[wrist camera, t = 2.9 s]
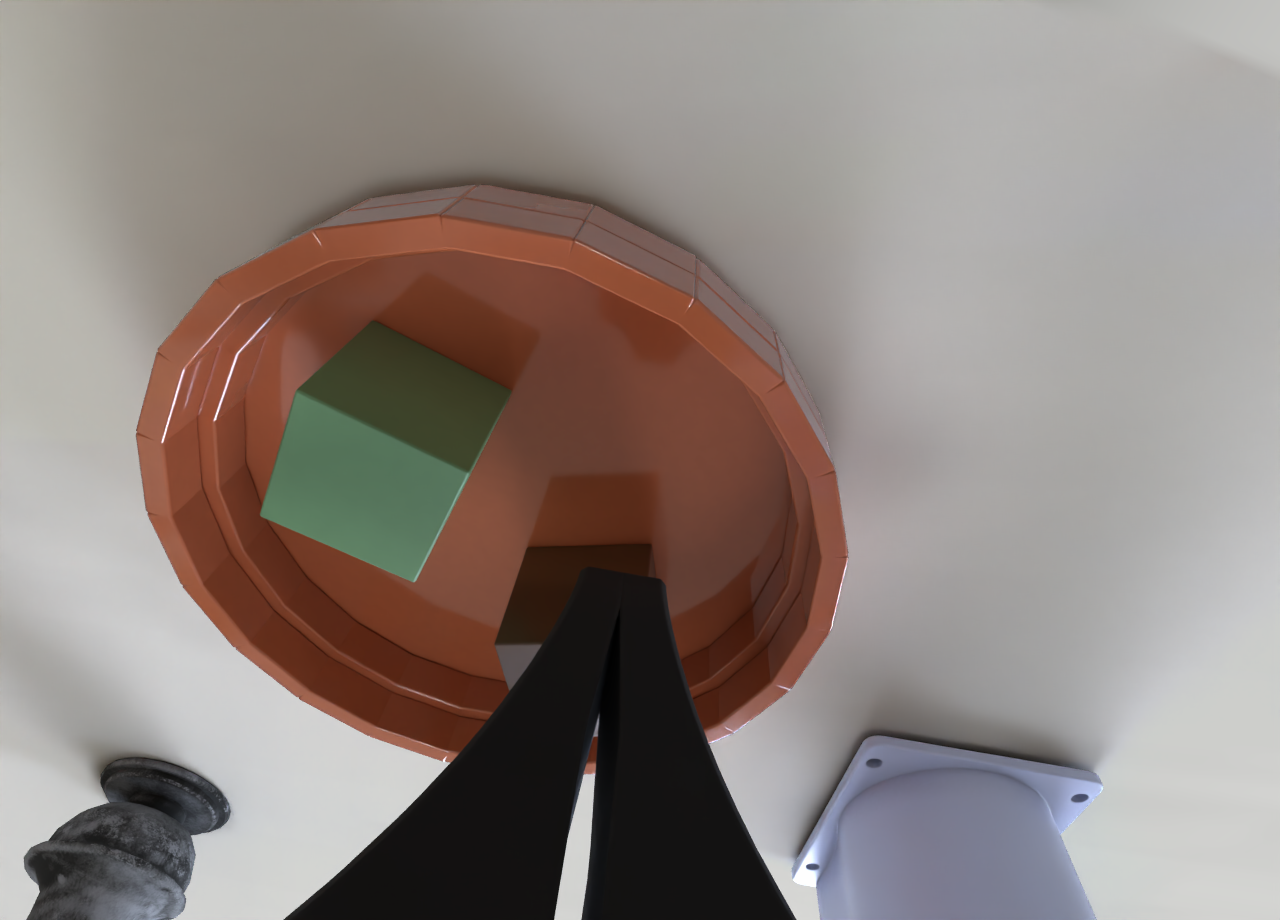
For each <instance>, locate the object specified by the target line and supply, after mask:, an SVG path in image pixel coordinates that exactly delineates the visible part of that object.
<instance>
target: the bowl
mask: <svg viewBox="0 0 1280 920" xmlns="http://www.w3.org/2000/svg"><path fill="white" fill-rule="evenodd" d="M372 320H374V321H376V322H378V323H380V324H382V325H384V326H386V327H388V328H390V329H392V330H394V331H396V332H398V333H400V334H402V335H404V336H406V337H408V338H410V339H411V340H413V341H415V342H417V343H419V344H421V345H423V346H425V347H427V348H429V349H431V350H433V351H435V352H437V353H439V354H441V355H443V356H445V357H447V358H449V359H451V360H453V361H455V362H457V363H459V364H461V365H463V366H465V367H466V368H468V369H470V370H472V371H474V372H476V373H478V374H480V375H482V376H484V377H486V378H488V379H490V380H492V381H494V382H496V383H498V384H500V385H502V386H504V387H506V388H508V389H510V390H511V391H512V393H511V395H510V397H509V399H508V401H507V403H506V405H505V407H504V409H503V411H502V413H501V415H500V417H499V419H498V421H497V423H496V425H495V427H494V429H493V431H492V433H491V435H490V437H489V439H488V441H487V443H486V445H485V447H484V449H483V451H482V453H481V455H480V457H479V459H478V461H477V463H476V465H475V467H474V469H473V470H472V472H471V474H470V476H469V478H468V480H467V482H466V484H465V486H464V488H463V490H462V492H461V494H460V496H459V498H458V500H457V502H456V504H455V506H454V508H453V510H452V512H451V514H450V516H449V518H448V520H447V521H446V523H445V525H444V527H443V529H442V531H441V533H440V535H439V537H438V539H437V541H436V543H435V545H434V547H433V549H432V551H431V553H430V555H429V557H428V559H427V560H426V562H425V564H424V566H423V568H422V570H421V572H420V574H419V576H418V578H417V580H416V581H415V582H411V581H409V580H407V579H404V578H402V577H400V576H397V575H395V574H393V573H390V572H388V571H386V570H384V569H381V568H379V567H377V566H374V565H372V564H370V563H367V562H365V561H363V560H360V559H358V558H356V557H353V556H351V555H349V554H347V553H344V552H342V551H340V550H337V549H335V548H333V547H330V546H328V545H326V544H323V543H321V542H319V541H316V540H314V539H312V538H310V537H307V536H305V535H303V534H300V533H298V532H296V531H293V530H291V529H289V528H286V527H284V526H282V525H280V524H277V523H275V522H273V521H270V520H268V519H266V518H263V517H261V516H260V512H261V508H262V505H263V501H264V498H265V494H266V491H267V488H268V484H269V481H270V477H271V474H272V470H273V467H274V464H275V460H276V457H277V453H278V450H279V446H280V443H281V439H282V436H283V433H284V429H285V426H286V422H287V419H288V415H289V412H290V409H291V405H292V402H293V398H294V395H295V391H296V390H297V389H298V388H299V387H300V386H301V385H302V384H303V383H304V382H306V381H307V380H308V379H309V378H310V377H311V376H312V375H313V374H314V373H315V372H316V371H318V370H319V369H320V368H321V367H322V366H323V365H324V364H325V363H326V362H327V361H328V360H330V359H331V358H332V357H333V356H334V355H335V354H336V353H337V352H338V351H339V350H340V349H341V348H343V347H344V346H345V345H346V344H347V343H348V342H349V341H350V340H351V339H352V338H353V337H355V336H356V335H357V334H358V333H359V332H360V331H361V330H362V329H363V328H364V327H365V326H367V325H368V324H369V323H370V322H371V321H372ZM136 431H137V433H136V440H137V447H138V454H139V462H140V469H141V476H142V484H143V491H144V499H145V506H146V511H147V512H148V517H149V519H150V521H151V523H152V525H153V527H154V529H155V531H156V534H157V536H158V538H159V540H160V542H161V544H162V546H163V548H164V550H165V552H166V554H167V556H168V558H169V560H170V562H171V564H172V567H173V569H174V571H175V573H176V575H177V577H178V579H179V581H180V583H181V584H182V585H183V588H184V589H185V590H186V592H187V593H188V594H189V595H190V596H191V598H192V599H193V600H194V601H195V602H196V603H197V605H198V606H199V607H200V608H201V609H202V611H203V612H204V613H205V614H206V615H207V616H208V618H209V619H210V620H211V621H212V622H213V624H214V625H215V626H216V627H217V628H218V630H219V631H220V632H221V633H222V634H223V635H224V637H225V638H226V639H227V640H228V641H229V643H230V644H231V645H232V646H233V647H235V648H236V650H238V651H239V652H240V653H241V654H243V655H244V656H245V657H246V658H248V659H249V660H250V661H252V662H253V663H254V664H255V665H257V666H258V667H259V668H260V669H262V670H263V671H264V672H265V673H267V674H268V675H269V676H271V677H272V678H273V679H274V680H276V681H277V682H278V683H279V684H281V685H282V686H283V687H285V688H286V689H287V690H288V691H290V692H291V693H292V694H293V695H295V696H296V697H299V699H300V700H302V701H304V702H305V703H307V704H309V705H311V706H313V707H315V708H317V709H319V710H320V711H322V712H324V713H326V714H328V715H330V716H332V717H334V718H335V719H337V720H339V721H341V722H343V723H345V724H347V725H349V726H350V727H352V728H354V729H356V730H358V731H360V732H362V733H364V734H365V735H367V736H370V737H372V738H375V739H378V740H381V741H384V742H387V743H390V744H393V745H396V746H399V747H402V748H405V749H408V750H410V751H413V752H416V753H419V754H422V755H425V756H428V757H431V758H434V759H437V760H440V761H446V762H450V763H451V762H452V761H453V760H454V759H455V758H456V756H457V755H458V754H459V753H460V752H461V751H462V750H463V748H464V747H465V746H466V745H467V744H468V743H469V741H470V740H471V739H472V738H473V737H474V736H475V734H476V733H477V732H478V731H479V730H480V728H481V727H482V726H483V725H484V724H485V722H486V721H487V720H488V719H489V717H490V716H491V715H492V714H493V712H494V711H495V710H496V709H497V707H498V706H499V705H500V703H501V702H502V701H503V699H504V698H505V697H506V695H507V694H508V693H509V689H508V686H507V683H506V680H505V677H504V673H503V670H502V667H501V664H500V661H499V658H498V655H497V652H496V648H495V645H494V643H495V640H496V637H497V634H498V631H499V628H500V625H501V622H502V619H503V616H504V613H505V610H506V608H507V605H508V602H509V599H510V596H511V593H512V590H513V587H514V584H515V581H516V578H517V575H518V572H519V569H520V566H521V563H522V560H523V557H524V554H525V551H526V548H528V547H558V546H592V545H626V544H651V545H652V549H653V557H654V564H655V572H656V578H659V579H661V580H662V581H663V582H664V583H665V585H666V592H667V600H668V607H669V613H670V618H671V623H672V628H673V632H674V636H675V640H676V645H677V649H678V652H679V656H680V660H681V663H682V667H683V670H684V673H685V676H686V680H687V683H688V686H689V689H690V693H691V696H692V699H693V702H694V705H695V708H696V710H697V713H698V716H699V719H700V722H701V724H702V727H703V730H704V732H705V735H706V738H707V740H708V743H709V744H710V743H712V742H715V741H717V740H719V739H722V738H724V737H727V736H729V735H731V734H733V733H734V732H737V731H738V730H739V729H741V728H742V727H743V726H744V725H746V724H747V723H748V722H750V721H751V720H752V719H754V718H755V717H756V716H757V715H759V714H760V713H761V712H763V711H764V710H765V709H766V708H768V707H769V706H770V705H772V704H773V703H774V702H776V701H777V700H778V699H779V698H781V697H782V696H783V695H785V694H786V693H787V692H789V690H790V689H792V687H793V686H794V685H795V683H796V682H797V680H798V679H799V677H800V676H801V674H802V673H803V671H804V670H805V668H806V667H807V665H808V664H809V663H810V661H811V660H812V658H813V657H814V655H815V654H816V652H817V651H818V649H819V648H820V646H821V645H822V643H823V642H824V641H825V639H826V638H827V636H828V635H829V633H830V631H831V630H832V626H833V622H834V617H835V613H836V609H837V605H838V600H839V596H840V592H841V588H842V583H843V579H844V575H845V571H846V566H847V562H848V558H849V557H848V547H847V540H846V534H845V527H844V521H843V514H842V508H841V501H840V495H839V488H838V482H837V475H836V470H835V467H834V463H833V459H832V456H831V452H830V449H829V445H828V443H827V438H826V434H825V431H824V427H823V423H822V420H821V416H820V414H819V410H818V408H817V406H816V405H815V403H814V401H813V399H812V397H811V395H810V394H809V392H808V390H807V388H806V386H805V384H804V383H803V381H802V379H801V377H800V375H799V373H798V372H797V370H796V368H795V366H794V364H793V362H792V361H791V359H790V357H789V355H788V353H787V351H786V350H785V348H784V346H783V344H782V342H781V340H780V339H779V337H778V335H777V333H776V332H775V331H773V329H772V327H771V326H770V325H769V324H768V323H766V322H765V321H764V320H763V319H762V318H761V317H760V316H759V315H758V314H757V313H756V312H755V311H754V310H753V309H752V308H751V307H750V306H749V305H747V304H746V303H745V302H744V301H743V300H742V299H741V298H740V297H739V296H738V295H737V294H736V293H735V292H734V291H733V290H732V289H731V288H730V287H728V286H727V285H726V284H725V283H724V282H723V281H722V280H721V279H720V278H719V277H718V276H717V275H716V274H715V273H714V272H713V271H712V270H711V269H709V268H708V267H707V266H706V265H705V264H704V263H703V262H702V261H701V260H699V259H696V256H695V255H693V254H691V253H689V252H687V251H685V250H683V249H681V248H679V247H678V246H676V245H674V244H672V243H670V242H668V241H666V240H664V239H662V238H660V237H658V236H656V235H654V234H652V233H650V232H648V231H646V230H644V229H642V228H640V227H638V226H636V225H634V224H632V223H630V222H628V221H626V220H624V219H622V218H620V217H618V216H616V215H614V214H612V213H610V212H608V211H606V210H604V209H602V208H600V207H598V206H595V205H594V206H593V205H592V204H588V203H583V202H577V201H572V200H566V199H561V198H555V197H550V196H544V195H539V194H533V193H528V192H522V191H517V190H511V189H506V188H500V187H495V186H489V185H484V184H481V185H479V186H477V185H467V186H459V187H451V188H443V189H435V190H427V191H419V192H411V193H404V194H396V195H388V196H380V197H373V198H372V199H366V200H364V201H362V202H360V203H358V204H356V205H354V206H352V207H350V208H348V209H346V210H345V211H343V212H341V213H339V214H337V215H335V216H333V217H331V218H329V219H327V220H325V221H323V222H321V223H319V224H317V225H315V226H313V227H311V228H309V229H307V230H305V231H303V232H301V233H299V234H297V235H295V236H293V237H292V238H290V239H288V240H286V241H284V242H282V243H280V244H278V245H276V246H275V247H273V248H271V249H269V250H267V251H265V252H263V253H262V254H260V255H258V256H256V257H254V258H252V259H250V260H249V261H247V262H245V263H243V264H241V265H239V266H238V267H236V268H234V269H232V270H230V271H228V272H226V273H225V274H223V275H221V276H219V277H218V278H217V279H215V280H214V281H213V283H212V284H211V285H210V286H209V287H208V289H207V290H206V291H205V292H204V294H203V295H202V296H201V297H200V298H199V300H198V301H197V302H196V303H195V304H194V306H193V307H192V308H191V309H190V310H189V312H188V313H187V314H186V315H185V316H184V318H183V319H182V320H181V321H180V323H179V324H178V325H177V326H176V327H175V329H174V330H173V331H172V332H171V333H170V335H169V336H168V337H167V338H166V339H165V341H164V342H163V343H162V344H161V345H160V347H159V348H158V352H157V353H156V357H155V360H154V364H153V368H152V372H151V376H150V379H149V383H148V387H147V391H146V394H145V398H144V402H143V406H142V410H141V413H140V417H139V421H138V425H137V429H136ZM597 740H598V736H593V740H592V744H591V747H590V751H589V755H588V759H587V763H586V767H585V771H584V774H595V770H596V755H597Z"/></svg>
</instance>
